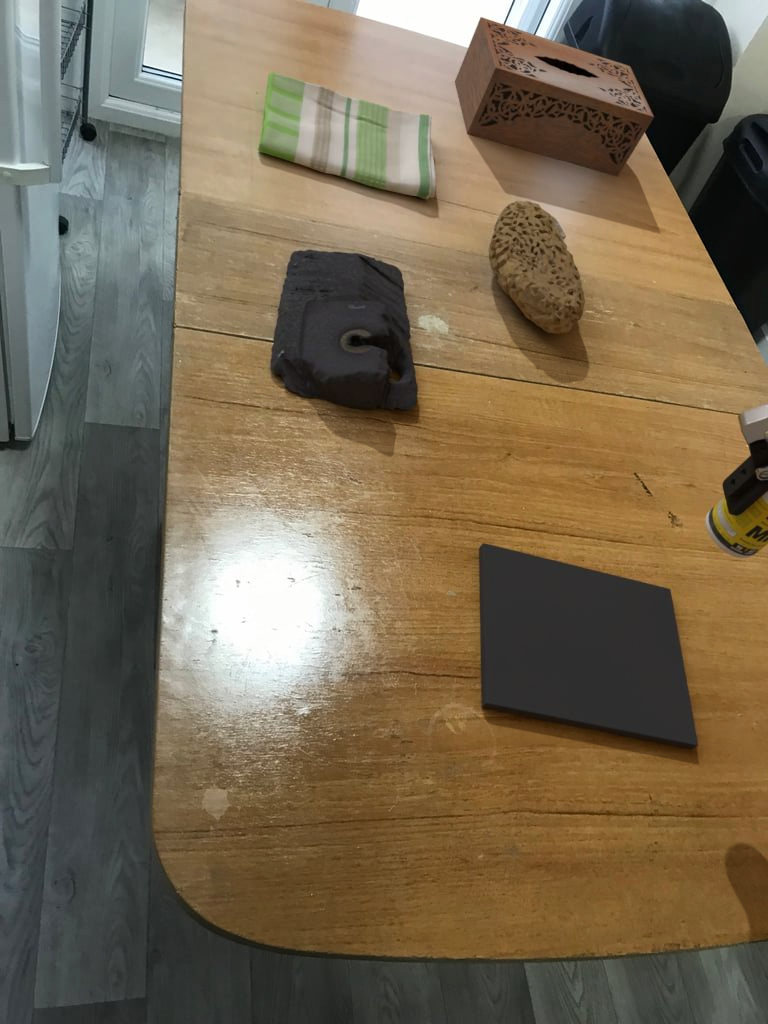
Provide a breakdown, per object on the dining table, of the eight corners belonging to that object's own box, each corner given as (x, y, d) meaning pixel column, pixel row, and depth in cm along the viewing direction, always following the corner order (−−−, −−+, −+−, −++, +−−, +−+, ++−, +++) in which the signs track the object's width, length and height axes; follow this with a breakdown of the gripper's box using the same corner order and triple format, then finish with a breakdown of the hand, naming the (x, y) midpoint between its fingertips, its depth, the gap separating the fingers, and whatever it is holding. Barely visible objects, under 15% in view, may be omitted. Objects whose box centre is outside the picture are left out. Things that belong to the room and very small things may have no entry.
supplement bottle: (722, 563, 64) (800, 499, 57) (693, 511, 66) (763, 445, 59) (767, 556, 66) (846, 494, 59) (736, 507, 68) (809, 442, 62)
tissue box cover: (467, 133, 123) (495, 67, 116) (454, 81, 131) (480, 16, 124) (617, 176, 131) (654, 117, 123) (597, 124, 139) (630, 66, 132)
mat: (664, 593, 83) (670, 588, 82) (691, 749, 73) (698, 745, 73) (478, 548, 79) (482, 542, 78) (481, 708, 69) (486, 703, 68)
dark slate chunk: (413, 286, 98) (427, 253, 95) (413, 425, 85) (430, 393, 81) (285, 249, 94) (295, 213, 91) (265, 388, 81) (276, 354, 78)
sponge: (479, 232, 111) (471, 294, 96) (515, 182, 107) (513, 238, 91) (558, 287, 115) (562, 355, 99) (596, 240, 110) (607, 304, 94)
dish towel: (431, 207, 109) (442, 183, 106) (256, 156, 103) (262, 130, 100) (425, 134, 119) (434, 111, 116) (265, 85, 113) (270, 59, 110)
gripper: (1051, 332, 53) (840, 497, 67) (828, 250, 50) (654, 443, 63) (1105, 418, 49) (867, 576, 63) (865, 335, 45) (669, 522, 59)
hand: (762, 507), depth 63 cm, fingers closed on supplement bottle, 4 cm apart
